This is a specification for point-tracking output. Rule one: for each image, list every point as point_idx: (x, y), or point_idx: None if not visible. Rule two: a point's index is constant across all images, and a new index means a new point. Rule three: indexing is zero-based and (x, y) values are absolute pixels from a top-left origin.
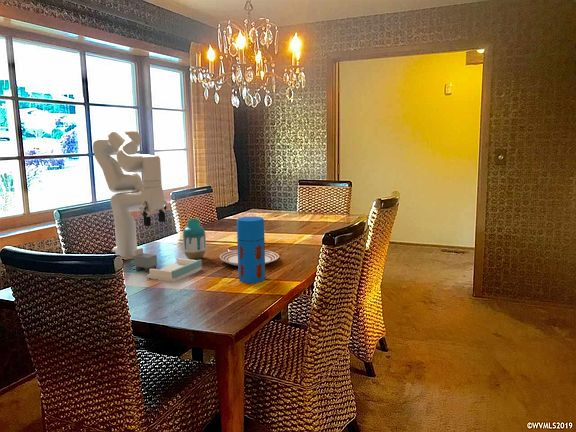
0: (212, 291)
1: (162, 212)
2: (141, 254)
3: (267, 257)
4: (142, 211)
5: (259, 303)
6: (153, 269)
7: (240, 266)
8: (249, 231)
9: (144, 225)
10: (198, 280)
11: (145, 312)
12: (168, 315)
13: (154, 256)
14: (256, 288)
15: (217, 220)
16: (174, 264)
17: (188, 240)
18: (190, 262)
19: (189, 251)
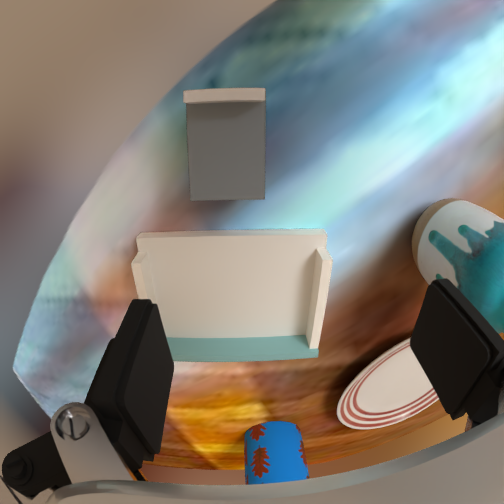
0: (166, 417)
1: (468, 411)
2: (236, 109)
3: (428, 388)
4: (18, 495)
5: (169, 461)
6: (137, 281)
7: (247, 459)
8: None
9: (135, 303)
10: (210, 374)
11: (29, 368)
12: (51, 398)
13: (246, 198)
14: (224, 450)
15: None
16: (306, 242)
17: (447, 278)
18: (312, 314)
19: (419, 253)
